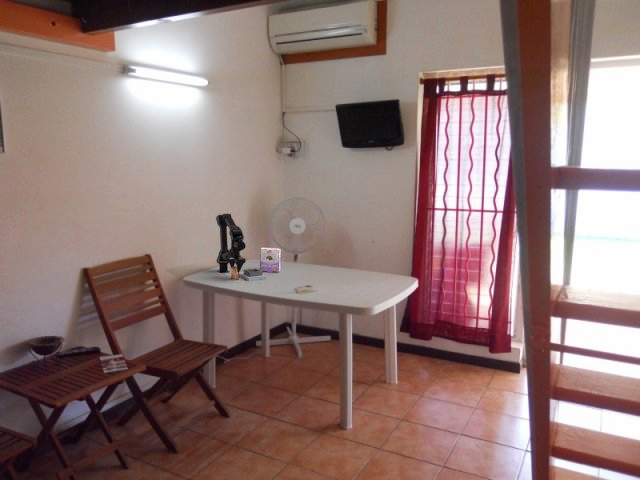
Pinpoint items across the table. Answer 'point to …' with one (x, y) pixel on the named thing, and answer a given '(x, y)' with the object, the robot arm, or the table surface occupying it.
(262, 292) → the table surface
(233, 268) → the copper canister
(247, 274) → the grey square socket base
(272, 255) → the candy box
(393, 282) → the table surface
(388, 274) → the table surface
